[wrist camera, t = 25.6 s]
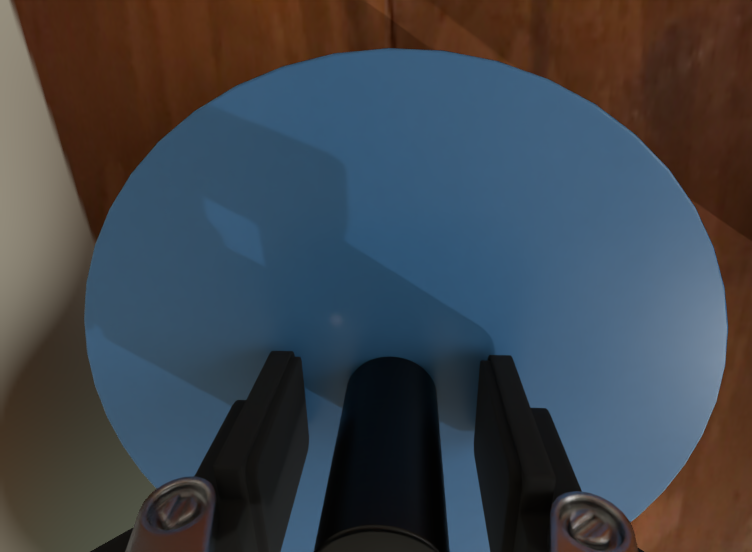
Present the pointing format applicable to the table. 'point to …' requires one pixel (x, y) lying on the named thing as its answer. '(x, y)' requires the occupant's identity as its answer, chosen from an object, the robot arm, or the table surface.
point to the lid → (407, 289)
